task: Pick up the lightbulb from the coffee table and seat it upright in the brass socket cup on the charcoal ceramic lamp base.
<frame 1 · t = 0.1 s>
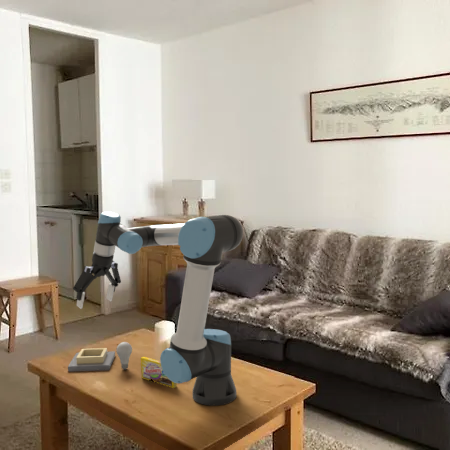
hand: (94, 303, 199), 28 cm above the table, tool tilted 20°, fingers open, 13 cm apart
candy box: (158, 383, 193), on the table
lamp base: (92, 363, 213), on the table
lightbulb: (124, 370, 206), on the table
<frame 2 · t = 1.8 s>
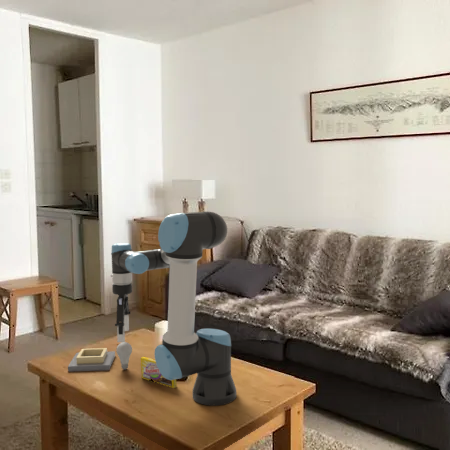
hand: (123, 336, 205), 13 cm above the table, tool pointing down, fingers open, 13 cm apart
nothing on the table moved.
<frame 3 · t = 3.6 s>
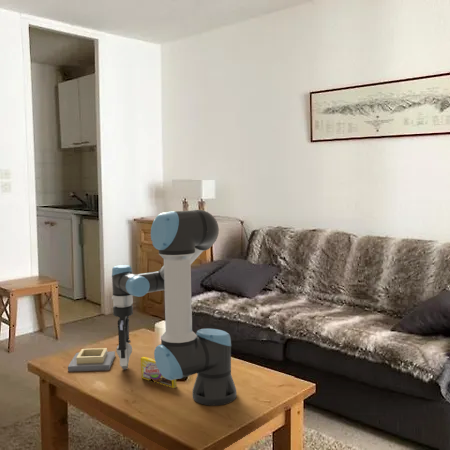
hand: (124, 362, 206), 3 cm above the table, tool pointing down, fingers closed on lightbulb, 6 cm apart
lightbulb: (124, 370, 206), on the table, touching gripper
everything else where it was.
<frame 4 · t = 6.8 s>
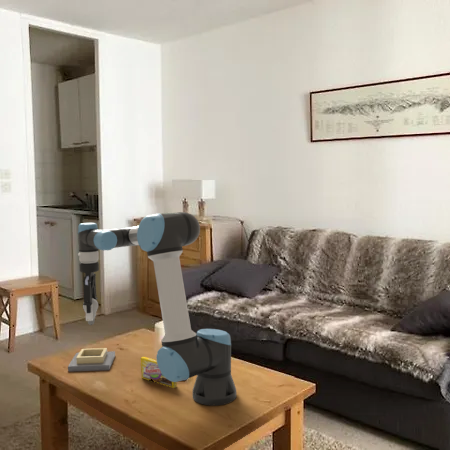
hand: (91, 318, 211), 19 cm above the table, tool pointing down, fingers closed on lightbulb, 6 cm apart
lightbulb: (91, 325, 212), point 16 cm above the table, touching gripper
everything else where it was.
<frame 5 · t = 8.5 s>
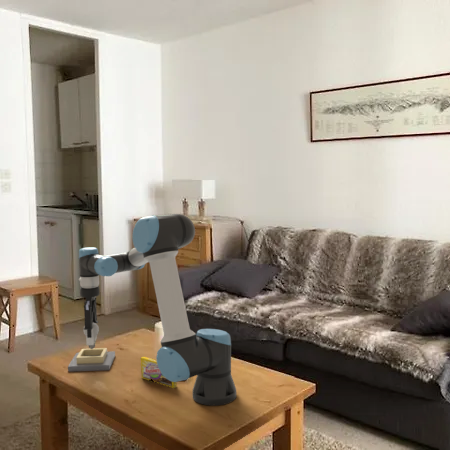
hand: (91, 342, 212), 9 cm above the table, tool pointing down, fingers closed on lightbulb, 6 cm apart
lightbulb: (91, 349, 213), point 6 cm above the table, touching gripper
everything else where it was.
when the fingers open (6 cm above the table, at t = 9.9 s): lightbulb stays where it is, resting on lamp base.
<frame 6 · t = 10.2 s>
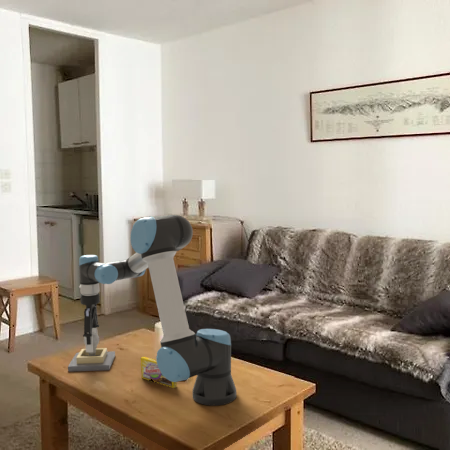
hand: (91, 347, 212), 7 cm above the table, tool pointing down, fingers open, 10 cm apart
lightbulb: (92, 359, 213), point 2 cm above the table, touching lamp base
everything else where it was.
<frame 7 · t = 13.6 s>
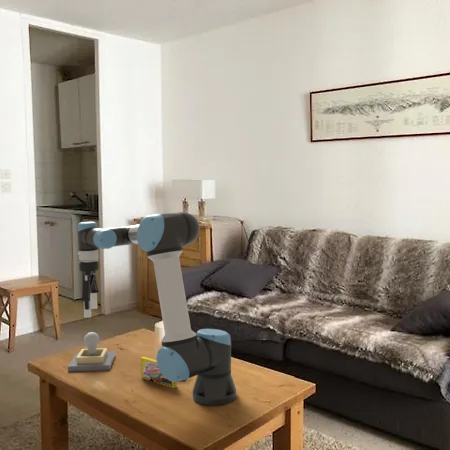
hand: (91, 312, 211), 21 cm above the table, tool pointing down, fingers open, 13 cm apart
nothing on the table moved.
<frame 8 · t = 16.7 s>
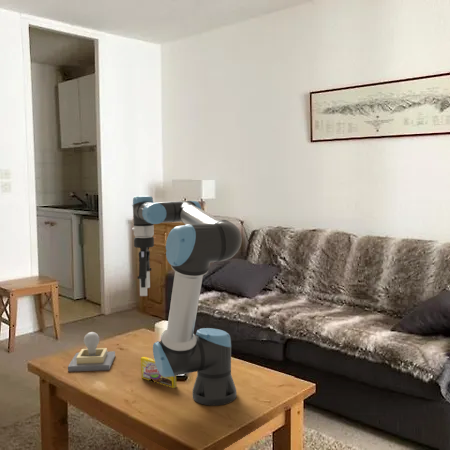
hand: (145, 291, 201), 32 cm above the table, tool pointing down, fingers open, 13 cm apart
nothing on the table moved.
at the end: lightbulb 0.0 cm off-centre on the lamp base, point 1.8 cm above the lamp base's base; lightbulb tilted 0°; the gripper is holding nothing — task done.
